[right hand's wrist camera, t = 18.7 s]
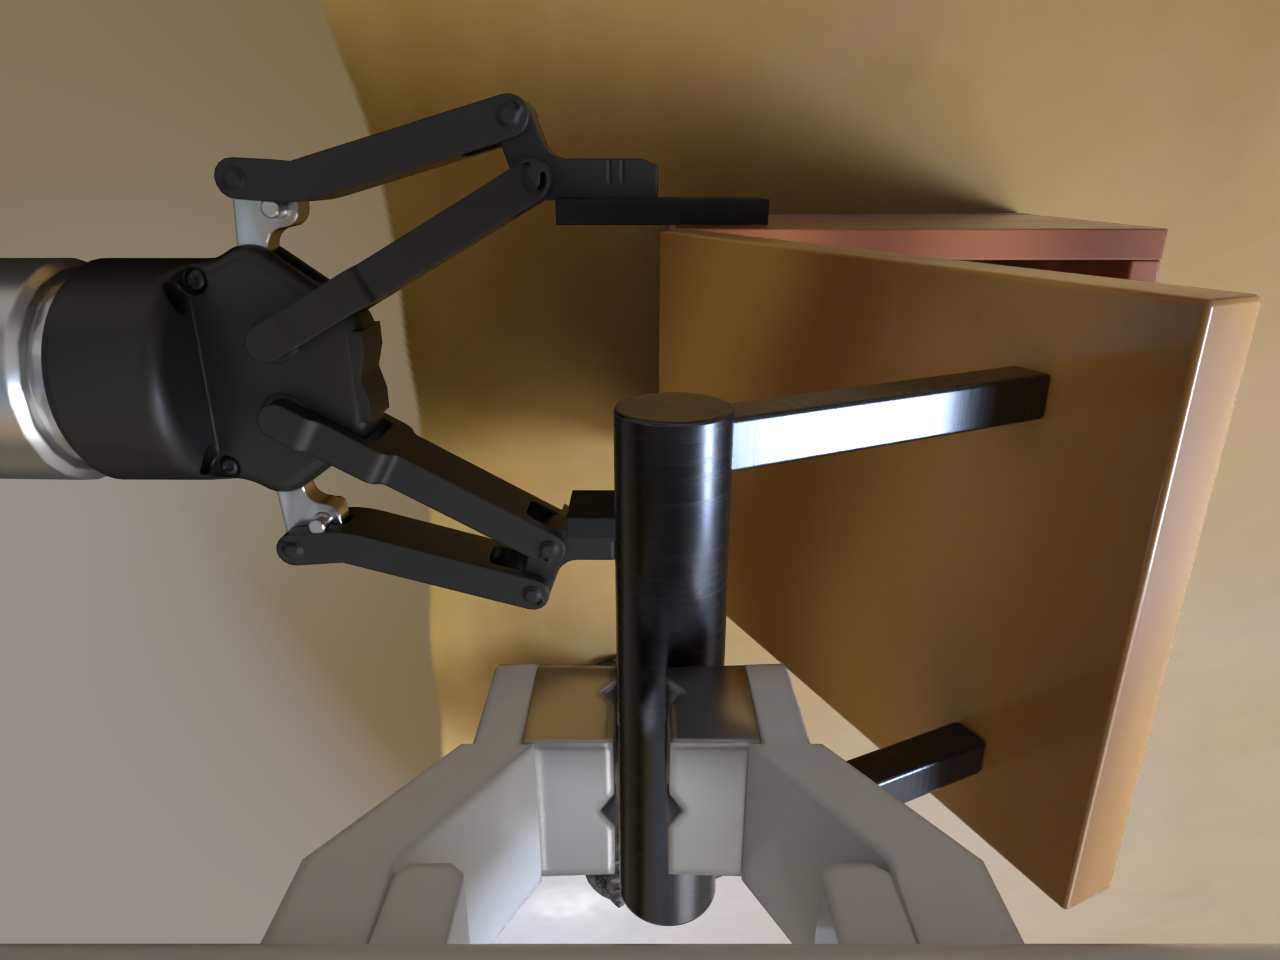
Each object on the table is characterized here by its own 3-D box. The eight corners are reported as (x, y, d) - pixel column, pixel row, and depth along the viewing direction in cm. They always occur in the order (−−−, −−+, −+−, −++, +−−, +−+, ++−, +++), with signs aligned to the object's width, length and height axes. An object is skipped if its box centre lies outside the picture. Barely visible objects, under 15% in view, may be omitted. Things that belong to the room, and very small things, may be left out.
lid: (1266, 294, 10) (726, 349, 7) (1111, 888, 14) (699, 1106, 11) (694, 229, 23) (404, 238, 20) (688, 549, 26) (440, 601, 23)
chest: (1018, 212, 32) (1169, 228, 23) (982, 449, 36) (1101, 546, 26) (668, 212, 33) (676, 228, 23) (666, 448, 36) (671, 545, 27)
